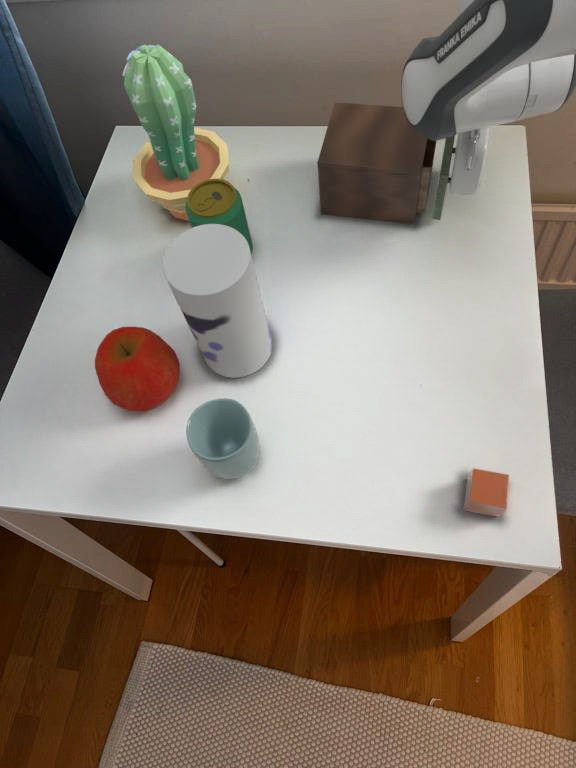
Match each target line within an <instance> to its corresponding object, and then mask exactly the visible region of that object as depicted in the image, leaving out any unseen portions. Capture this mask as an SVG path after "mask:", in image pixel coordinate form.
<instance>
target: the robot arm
mask: <svg viewBox="0 0 576 768" xmlns="http://www.w3.org/2000/svg"><path fill="white" fill-rule="evenodd" d="M575 89H576V0H459V5H458V9H457V15H456V18H455V19H454V20H453V21H452V22H451V24H450V25H448V26H447V28H445V29H444V31H443V32H442V33H441V34H439V35H437V36H436V35H435V36H430V37H425V38H422V39H421V40H420V41H419V42H418V44H417V45H416V46H415V48H414V49H413V50H412V52H411V53H410V55H409V56H408V58H407V60H406V62H405V63H404V66H403V68H402V73H401V80H400V97H401V103H402V104H401V105H402V106H401V107H403V110H404V114H405V117H406V119H407V121H408V123H409V124H410V125H411V126H412V127H413V128H414V129H415V130H416V131H418V132H419V133H420V134H422V135H423V136H425V137H427V138H428V139H430V140H432V141H436V142H437V141H440V140H444V139H446V138H448V137H451V136H455V137H456V143H455V148H456V149H455V153H454V156H453V163H452V169H451V176H450V177H451V182H450V183H449V193H450V194H452V195H457V196H463V197H465V196H468V197H473V196H476V195H477V193H478V191H479V188H480V186H481V180H482V176H483V171H484V167H485V163H486V159H487V152H488V148H489V141H490V139H489V138H490V131H491V127H496V126H501V125H504V124H509V123H514V122H517V121H523V120H527V119H531V118H535V117H539V116H544V115H548V114H551V113H555V112H558V111H559V110H561V109H562V108H563V107H564V105H566V104H567V102H568V101H569V100H570V98H571V97H572V95H573V93H574V91H575ZM479 185H480V186H479Z"/></svg>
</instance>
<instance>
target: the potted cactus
mask: <svg viewBox="0 0 576 768" xmlns="http://www.w3.org/2000/svg"><path fill="white" fill-rule="evenodd" d="M125 60H126V61H127V62H126V64H125V66H124V68H123V71H122V77H124V81H123V87H124V89H125V93H126V94H127V96H128V99H129V101H130V103H131V105H132V107H133V110H134V113H136V115H137V118H138V120H139V122H140V124H141V127H142V128H143V129H144V131H145V132H146V134H147V136H148V139H149V140H148V141H147V142H145V143H144V144H143V146H142V147H141V149H140V150H139V152H138V153H137V154H136V156H135V157H134V159H133V160H132V180H133V181H134V183H135V184H136V185H137V187H138V188H139V189H140V190H141V192H143V193H144V194H145V196H147V197H148V199H149V200H150V201H154V202H156V203H158V204H159V205H160V206H161V207H162V208H163V209H166V210H168V211H169V212H170V214H171V215H172V216H173V217H174V218H176V219H180V220H184V221H186V222H187V221H188V222H189V219H188V216H187V214H186V209H185V207H186V202H187V197H188V194H189V192H190V191H191V189H192V188H193V187H194V186H195V185H197V184H198V183H200V182H202V181H205V180H208V179H222V180H225V178H226V176H227V175H228V173H229V172H230V158H229V151H228V150H229V148H228V147H229V146H228V144H227V143H226V142H225V141H224V140H223V139H222V138H221V137H220V136H219V135H217V134H216V132H215V131H213V130H208V129H204V128H199V127H195V120H196V115H197V109H198V108H197V102H196V97H195V91H194V87H193V81H192V79H191V78H190V77H189V76H188V74H186V73H185V70H184V66H183V63H181V61H179V59H177V58H176V57H175V56H174V55H172V54H171V53H170V52H169V51H167V49H165V48H164V47H162V46H161V45H160V44H157V43H156V45H153V44H149V45H147V44H142V45H140V46H137V47H136V48H135V50H132V51H131V52H129V54H128V56H127V57H126V59H125Z"/></svg>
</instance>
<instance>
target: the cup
mask: <svg viewBox="0 0 576 768" xmlns="http://www.w3.org/2000/svg"><path fill="white" fill-rule="evenodd" d="M185 435H186V440H187V444H188V447H189V448H190V450H191V452H192V454H193V455H194V456H195V459H197V461H198V462H199V463H200V464H201V465H202V467H203V468H204V469H205V470H206V471H207V472H209V473H210V474H211V475H212V476H214V477H216V478H219V479H222V480H223V479H224V480H234V479H239V478H241V477H245V476H246V475H248V474H249V473H251V471H253V470H254V468H255V467H256V466H257V464H258V461H259V458H260V451H261V449H260V448H261V446H260V440H259V439H260V438H259V435H258V432H257V429H256V426H255V424H254V421H253V418H252V416H251V415H250V412H249V411H248V409H247V408H246V407H245V406H244V405H243V404H242V403H241V402H239V401H238V400H235V399H232V398H226V397H224V398H223V397H222V398H215V399H210V400H208V401H206V402H203V403H202V404H200V405H199V406H197V407H196V408H195V409H194V410H193V411H192V413H191V414H190V415H189V417H188V419H187V421H186V429H185Z"/></svg>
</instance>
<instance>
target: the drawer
mask: <svg viewBox="0 0 576 768" xmlns="http://www.w3.org/2000/svg"><path fill="white" fill-rule="evenodd" d="M455 139H456V135H455V136H451V137H448V138H445V140H444V146H443V153H442V158H441V164H440V170H439V176H438V181H437V188H436V194H435V201H434V207H433V212H432V218H431V219H432V220H433V221H434V220H436V221H441V219H442V213H443V208H444V203H445V198H446V193H447V187H448V184H450V182H451V176H450V170H451V164H452V158H453V154H455V149H456V147H454V144H455ZM436 147H437V141H432V140H430V139H428V138H427V144H426V149H425V155H424V160H423V166H422V171H421V179H420V186H419V193H418V201H417V208H416V214H425V213H426V207H427V200H428V194H429V188H430V183H431V179H432V173H433V172H432V171H433V166H434V159H435V153H436ZM480 186H481V184H480V185H479V187H480Z"/></svg>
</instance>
